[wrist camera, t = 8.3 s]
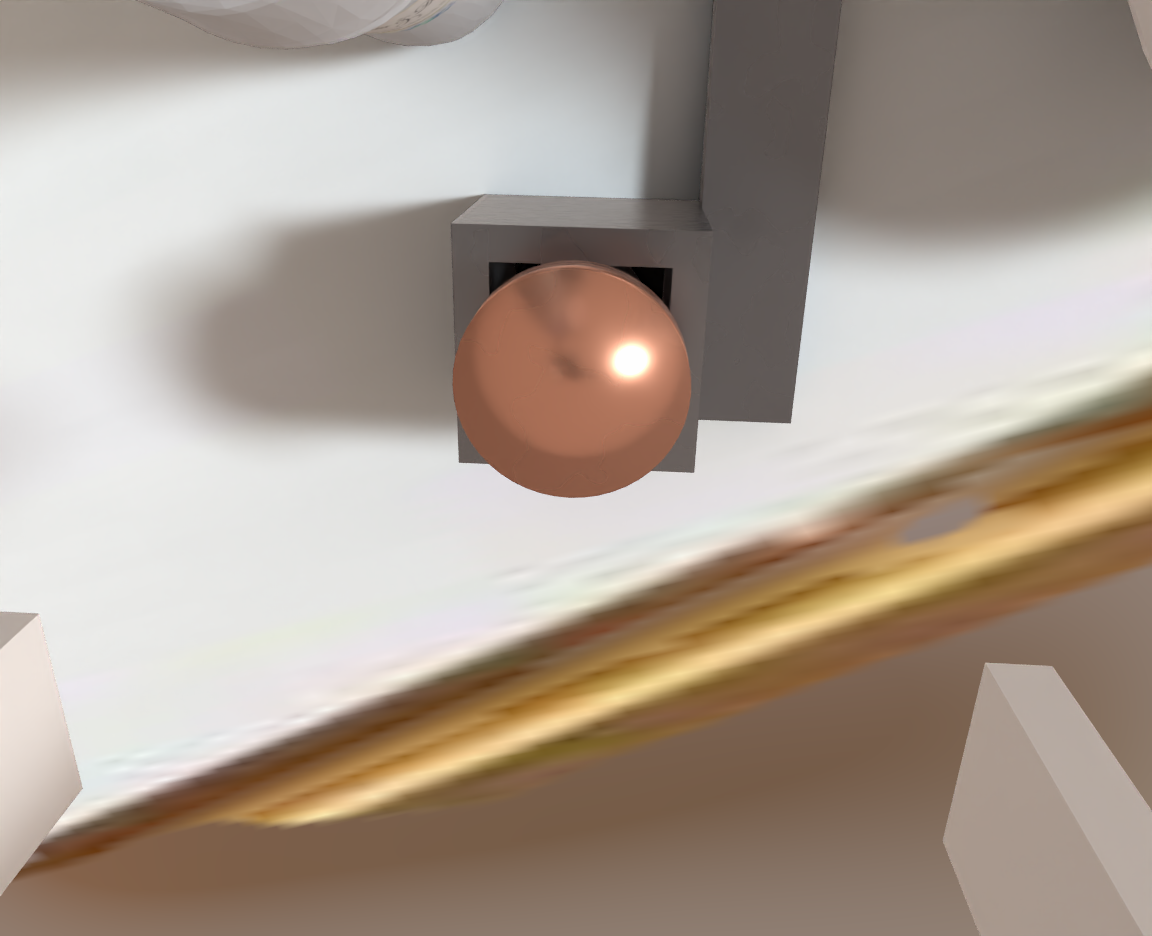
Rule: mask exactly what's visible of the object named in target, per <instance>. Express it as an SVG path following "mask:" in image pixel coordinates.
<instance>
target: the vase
mask: <svg viewBox="0 0 1152 936" xmlns="http://www.w3.org/2000/svg"><path fill="white" fill-rule="evenodd" d="M1128 4H1129V7H1130V10H1131V13H1132V17H1133V20H1134V23H1135V26H1136V30H1137V33H1138V36H1139V39H1140V43H1141V46H1142V49H1143V52H1144V54H1145V56H1146V59H1147V61H1148V63H1149V65H1150V67H1151V69H1152V0H1128Z"/></svg>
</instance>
